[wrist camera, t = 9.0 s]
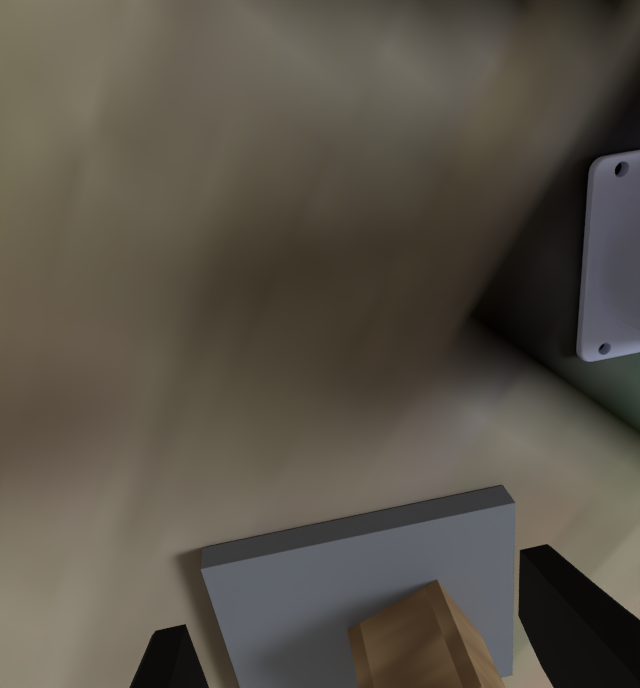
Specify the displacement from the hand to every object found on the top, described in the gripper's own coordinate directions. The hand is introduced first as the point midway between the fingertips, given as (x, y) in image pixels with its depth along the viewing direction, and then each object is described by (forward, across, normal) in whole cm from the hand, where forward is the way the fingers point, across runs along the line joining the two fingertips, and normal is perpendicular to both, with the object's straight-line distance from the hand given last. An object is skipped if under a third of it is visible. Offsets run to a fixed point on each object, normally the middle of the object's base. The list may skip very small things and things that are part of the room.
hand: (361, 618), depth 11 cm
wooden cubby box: (+9, -3, +14) cm, 17 cm away
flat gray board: (+10, -1, +13) cm, 17 cm away
